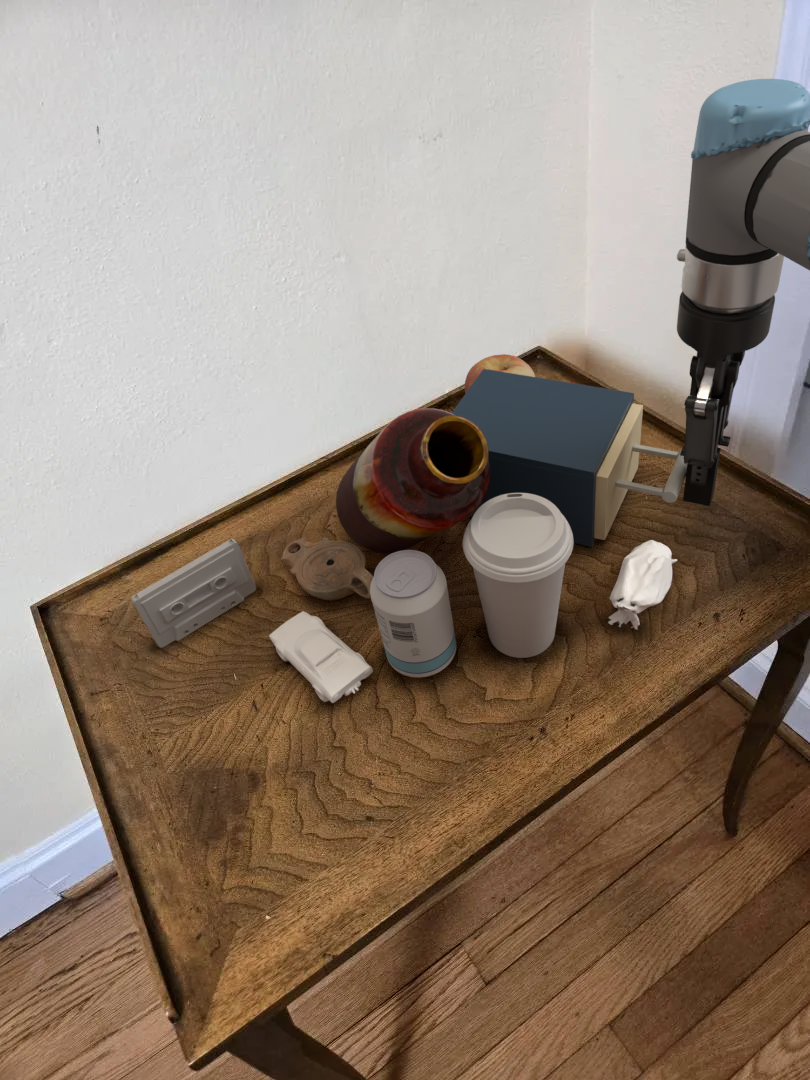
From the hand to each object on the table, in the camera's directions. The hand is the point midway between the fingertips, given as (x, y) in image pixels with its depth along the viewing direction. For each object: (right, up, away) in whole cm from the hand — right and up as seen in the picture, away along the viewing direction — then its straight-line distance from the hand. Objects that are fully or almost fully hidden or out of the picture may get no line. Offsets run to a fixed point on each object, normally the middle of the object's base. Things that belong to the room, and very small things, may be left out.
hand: (697, 498), depth 83 cm
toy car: (-39, -17, -3) cm, 42 cm away
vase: (-34, -1, +7) cm, 34 cm away
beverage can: (-29, -16, -4) cm, 33 cm away
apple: (-18, +12, +20) cm, 29 cm away
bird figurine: (-7, -10, -3) cm, 12 cm away
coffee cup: (-19, -13, -4) cm, 24 cm away
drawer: (-11, +1, +7) cm, 13 cm away
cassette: (-52, -13, +3) cm, 53 cm away
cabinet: (-15, +2, +10) cm, 18 cm away
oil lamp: (-38, -9, +4) cm, 39 cm away
